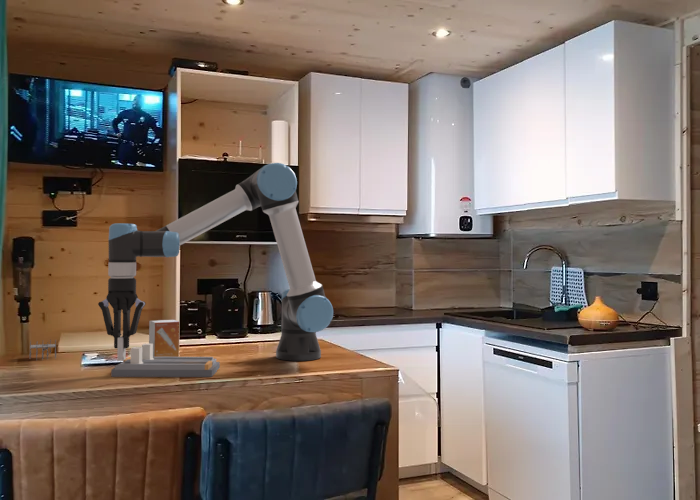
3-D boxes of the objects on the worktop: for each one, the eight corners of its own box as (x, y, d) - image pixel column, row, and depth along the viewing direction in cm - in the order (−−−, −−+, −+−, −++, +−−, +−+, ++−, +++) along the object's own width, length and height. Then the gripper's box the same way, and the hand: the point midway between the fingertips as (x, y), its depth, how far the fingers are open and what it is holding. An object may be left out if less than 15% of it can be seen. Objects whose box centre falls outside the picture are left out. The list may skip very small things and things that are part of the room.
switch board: (219, 368, 189) (219, 356, 189) (211, 376, 176) (211, 364, 176) (126, 368, 188) (126, 356, 188) (111, 376, 175) (111, 364, 175)
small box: (154, 363, 195) (154, 322, 196) (148, 360, 201) (148, 320, 201) (179, 361, 200) (179, 321, 200) (173, 358, 205) (173, 319, 205)
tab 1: (143, 365, 179) (143, 346, 179) (139, 367, 176) (140, 348, 176) (132, 365, 179) (132, 346, 179) (129, 367, 176) (129, 348, 176)
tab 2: (153, 361, 186) (154, 343, 187) (150, 363, 183) (151, 345, 183) (143, 361, 186) (143, 343, 186) (140, 363, 183) (140, 344, 183)
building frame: (29, 358, 204) (29, 340, 204) (56, 356, 207) (56, 339, 207) (28, 361, 198) (29, 342, 198) (56, 359, 201) (56, 341, 201)
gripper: (149, 277, 182) (148, 357, 182) (103, 276, 181) (103, 357, 181) (141, 278, 174) (140, 362, 174) (94, 277, 174) (93, 362, 174)
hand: (121, 359), depth 178 cm, fingers closed
